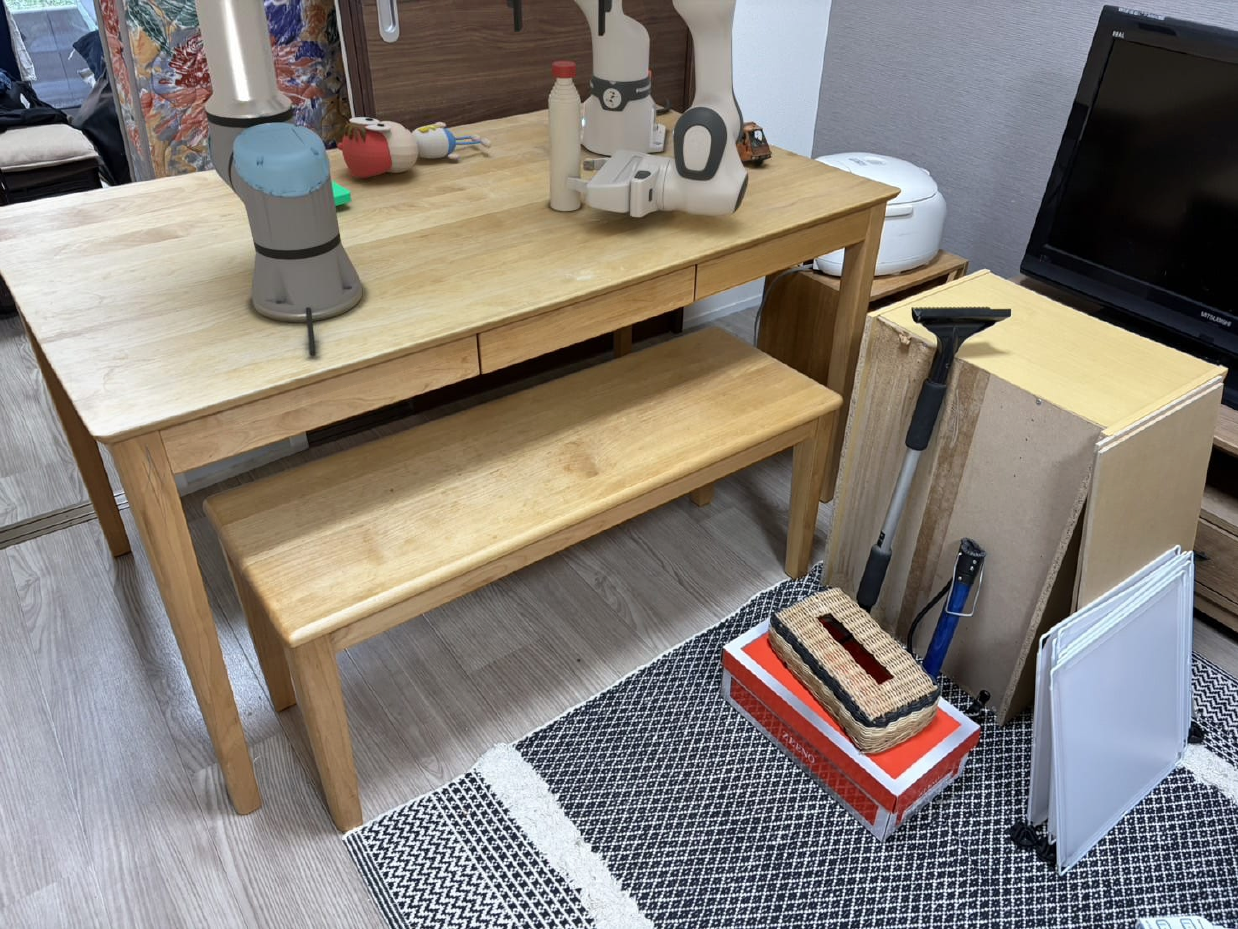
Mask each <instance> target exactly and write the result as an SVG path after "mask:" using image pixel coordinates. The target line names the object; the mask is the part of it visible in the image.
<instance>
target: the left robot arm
mask: <svg viewBox="0 0 1238 929" xmlns="http://www.w3.org/2000/svg"><path fill="white" fill-rule="evenodd" d="M193 1H194V5H195V6H194V7H195V11H196V14H197V20H198V25H199V31H200V35H201V40H202V44H203V49H204V54H205V58H206V64H207V69H208V73H209V78H210V83H211V89H212V94H211V95H210V97H209V98H208V99H207V100H206V101H205V104H204V111H205V115H206V120H207V125H208V132H207V137H206V138H207V140H206V146H207V153H208V157H209V160H210V162H211V165H212V167H213V169H214V171H215V172H216V174H217V175H218V176H219V178H221V179H222V181H223V182H224V183H225V184H226V185H227V186H228V187H229V188H230V189H231V190H232V191H233V193H234V194H235V195H236V196H237V197H238V198H239V199H240V201H241V202H242V203H243V206H244V208H245V211H246V215H247V219H248V220H247V221H248V224H249V228H250V233H251V237H252V242H253V247H254V251H255V258H254V264H253V273H252V283H251V299H252V303H253V307H254V309H255V310H256V311H257V313H259V314H260V315H262V316H264V317H266V318H268V319H271V320H275V321H281V322H289V323H304V322H306V325H307V334H308V336H307V337H308V346H309V348H308V349H309V355H310V356H311V357H315V356H316V354H317V353H316V342H315V332H314V323H313V322H314V321H315V322H316V321H320V320H326V319H330V318H332V317H336V316H338V315H341V314H343V313H345V312H348V311H349V310H351V309H353V308H354V307H355V306H356V305H357V304H358V303H359V302H360V301H361V298H362V297H363V287H362V282H361V279H360V276H359V274H358V272H357V270H356V268H355V266H354V264H353V263H352V261H351V259H350V257H349V255H348V253H347V251H346V250H345V248H344V245H343V243H342V239H341V233H340V225H339V220H338V214H337V207H336V206H335V200H334V194H333V188H332V182H331V181H332V177H331V162H330V158H329V156H328V153H327V150H326V146H325V144H324V143H325V142H324V141H323V139H322V138H321V137H320V135H318V133H317V132H315V131H313V130H311V129H310V128H308V127H305V126H302V125H298V126H297V125H296V120H295V113H294V108H293V102H292V99H290V98H289V97H288V96H287V95H285V94H284V93H283V92H282V91H281V90H280V89H279V85H278V79H277V72H276V67H275V62H274V61H275V60H274V54H273V48H272V42H271V36H270V32H269V25H268V19H267V12H266V8H265V2H264V0H193ZM506 5H507V8H511V9H513V31H514V32H515V33H519V32H521V30H522V29H523V6H522V0H506ZM611 9H612V0H598V36H603V35H604V34H605V12H610V11H611Z"/></svg>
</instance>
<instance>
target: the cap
mask: <svg viewBox="0 0 1238 929" xmlns="http://www.w3.org/2000/svg"><path fill="white" fill-rule="evenodd" d="M576 65H577V64H576V63H575V62H574V61H569V60H558V61H554V62H552V65H551V66H552V67H551V68H552V69H551V73H552V76H553V77H554V78H563V79H567V78H572V79H574V78H575V77H576V76H577V66H576Z"/></svg>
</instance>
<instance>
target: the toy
mask: <svg viewBox="0 0 1238 929" xmlns="http://www.w3.org/2000/svg"><path fill="white" fill-rule="evenodd" d="M446 127H447V124H446V123H445V122H441V121H437V122H435V123H432V124H429V125H424V126H420V127H417V128H416V129H414V130H413V131H412V132H411V131H410V130H409V128H407V126H406V125H404V124H401V123H399V122H395V121H393V120H391V121H390V120H382V121H381V120H378V119H376V118H372V117H364V116H358V117H352V118H349V122H348V123H346V124H345V126H344V128H343V130H344V131H343V133H344V135H343V137H342V142H338V143H337V144H336V147H337V150H339V151H341V152H342V157H343V160H344V162H345V165H346V166H347V169H348V170H349V173H350V174H351V175H352V176H353V177H355V178H358V179H366V178H367V179H368V178H371V177H375V176H379V175H382V174H386V173H387V172H388V173H391V174H392V173H393V174H398V173H403V172H406V171H409V170H410V169H411V168H412V167H414V165H415V164H416V162H417V160H418V157H420V158H425V159H441V158H444V157H447V158H448V159H449V160H458V159H459V158H460V155H459V154H458V153H454V151H455V150H456V147H457V146H466V145H468V146H469V145H477V144H481V146H483V148H486V149H490V148H491V147H492V142H491V140H489V139H486V138H481V136H479V135H478V134H476V133H474V134H470V136H458V137H456V136H454V133H452V132H451V131H450V130H449V129H447V128H446ZM463 140H471V141H463Z"/></svg>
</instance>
